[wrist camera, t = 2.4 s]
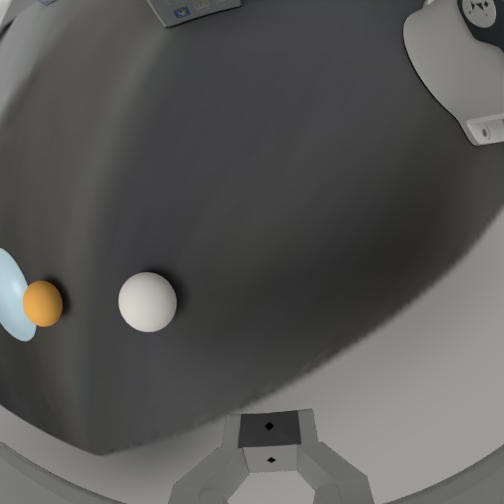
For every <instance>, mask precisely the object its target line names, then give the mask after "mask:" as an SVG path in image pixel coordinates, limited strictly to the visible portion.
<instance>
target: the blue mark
mask: <svg viewBox="0 0 504 504" xmlns="http://www.w3.org/2000/svg"><path fill="white" fill-rule="evenodd" d="M27 288H28V283H27V281H26V279H25V276H24V274H23V273H22V271H21V269H20V267H19V266H18V264H17V262H16V261H15V260H14V258H13V257H12V256H11V255H10V254H9V253H8V252H7V251H5V250H4V249H2V248H0V323H1V324H2V325H3V327H4V328H5V329H6V330H7V331H8V332H9V333H10V334H11V335H12V336H14V337H15V338H17V339H19V340H22V341H28V340H30V339H31V338H32V337H33V336H34V334H35V332H36V327H37V325H36V324H34V323H33V322H31V321H30V320H29V318H28V317H27V315H26V314H25V311H24V308H23V296H24V293H25V291H26V289H27Z"/></svg>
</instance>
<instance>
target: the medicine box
mask: <svg viewBox="0 0 504 504" xmlns="http://www.w3.org/2000/svg"><path fill="white" fill-rule="evenodd" d="M37 1H39V2H41V3H42V4H44V5H48V4H49V3H51V2H53V1H55V0H37Z"/></svg>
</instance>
